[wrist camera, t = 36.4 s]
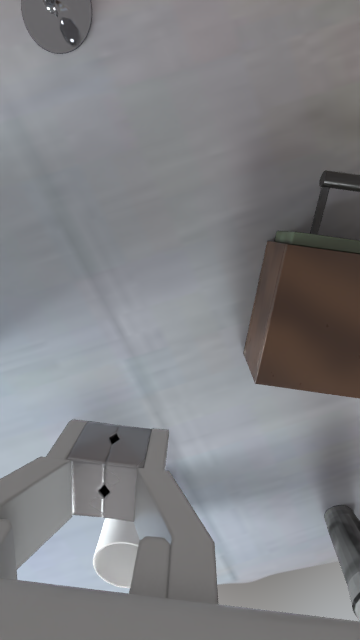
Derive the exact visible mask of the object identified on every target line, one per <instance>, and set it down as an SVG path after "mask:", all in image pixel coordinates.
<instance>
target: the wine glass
mask: <svg viewBox="0 0 360 640" xmlns="http://www.w3.org/2000/svg"><path fill="white" fill-rule="evenodd" d="M21 10H22V16H23V20H24V23H25V26H26V28H27V30H28V32H29V34H30V35H31V37H32V38H33V40H34V41H35V42H36V43H37V44H38V45H39V46H41V47H42V48H43V49H45V50H47V51H49V52H52V53H57V54H63V53H68V52H71V51H73V50H75V49H76V48H78V47H79V46H80V45H81V44H82V42H83V41H84V40H85V38H86V36H87V34H88V32H89V29H90V26H91V20H92V6H91V0H21Z"/></svg>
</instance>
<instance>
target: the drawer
mask: <svg viewBox="0 0 360 640" xmlns="http://www.w3.org/2000/svg"><path fill="white" fill-rule="evenodd" d="M319 184H320V186H321V187H322V188H321V192H320V196H319V200H318V203H317V207H316V211H315V215H314V219H313V223H312V227H311V231H310V234H308V233H301V232H288V231H277V233H276V237H275V242H278V243H284V244H291V245H298V246H305V247H312V248H319V249H326V250H334V251H341V252H348V253H355V254H360V241H359V240H351V239H344V238H337V237H330V236H323V235H318V231H319V227H320V223H321V219H322V215H323V212H324V208H325V204H326V200H327V196H328V192H329V189H330V188H335V189H342V190H350V191H357V192H360V175H355V174H348V173H340V172H333V171H324V172H323V173H322V175H321V178H320V183H319Z"/></svg>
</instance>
